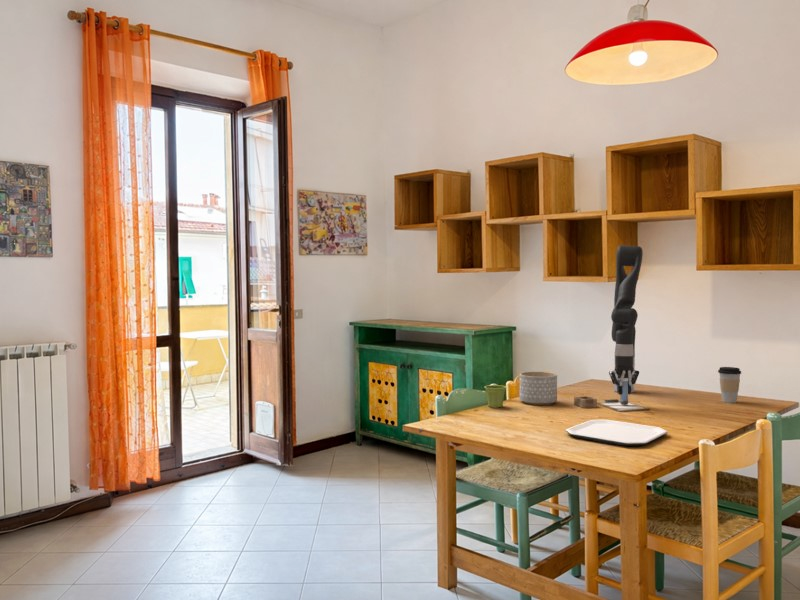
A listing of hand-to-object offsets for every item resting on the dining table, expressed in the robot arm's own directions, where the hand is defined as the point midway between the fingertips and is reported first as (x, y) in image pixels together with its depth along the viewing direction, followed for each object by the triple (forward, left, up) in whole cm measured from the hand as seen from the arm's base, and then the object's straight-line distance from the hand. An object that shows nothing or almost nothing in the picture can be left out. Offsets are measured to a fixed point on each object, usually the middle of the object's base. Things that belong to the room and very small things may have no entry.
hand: (624, 394), depth 283 cm
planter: (-18, -32, -6) cm, 37 cm away
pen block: (-5, -16, -5) cm, 17 cm away
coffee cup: (+3, +50, -6) cm, 51 cm away
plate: (+45, -32, -6) cm, 55 cm away
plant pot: (-14, -54, -6) cm, 56 cm away
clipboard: (+1, -2, -5) cm, 6 cm away
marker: (0, 0, -4) cm, 4 cm away
